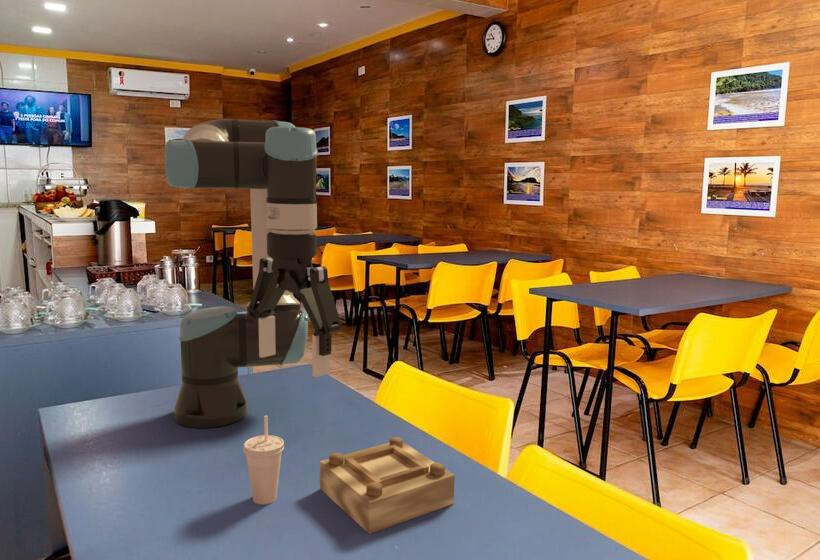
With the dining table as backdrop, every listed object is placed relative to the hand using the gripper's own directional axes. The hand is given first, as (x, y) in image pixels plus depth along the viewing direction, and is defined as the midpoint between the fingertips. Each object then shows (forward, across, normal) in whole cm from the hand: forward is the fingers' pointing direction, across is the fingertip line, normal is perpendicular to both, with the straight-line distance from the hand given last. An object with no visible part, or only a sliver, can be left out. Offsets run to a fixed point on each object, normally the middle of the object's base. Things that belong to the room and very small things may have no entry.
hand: (293, 365), depth 99 cm
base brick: (+22, +11, +10) cm, 27 cm away
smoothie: (+23, -3, -4) cm, 23 cm away
